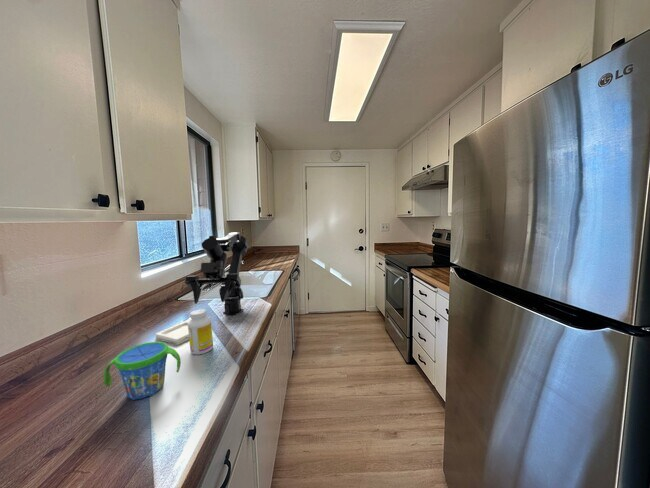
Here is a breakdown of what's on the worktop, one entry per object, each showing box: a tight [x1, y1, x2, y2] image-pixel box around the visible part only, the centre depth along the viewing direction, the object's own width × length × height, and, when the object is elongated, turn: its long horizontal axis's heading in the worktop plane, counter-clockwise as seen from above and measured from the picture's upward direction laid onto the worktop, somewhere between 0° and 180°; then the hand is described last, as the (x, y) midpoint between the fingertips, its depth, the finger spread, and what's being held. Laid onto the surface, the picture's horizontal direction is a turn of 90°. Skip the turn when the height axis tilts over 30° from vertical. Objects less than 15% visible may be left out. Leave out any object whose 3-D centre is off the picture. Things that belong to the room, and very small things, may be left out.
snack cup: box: [103, 341, 181, 401], centre depth 62 cm, size 16×10×10 cm
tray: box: [155, 320, 190, 346], centre depth 93 cm, size 12×12×2 cm
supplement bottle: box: [188, 308, 214, 355], centre depth 80 cm, size 7×7×13 cm
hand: (209, 302), depth 88 cm, fingers open, 9 cm apart
